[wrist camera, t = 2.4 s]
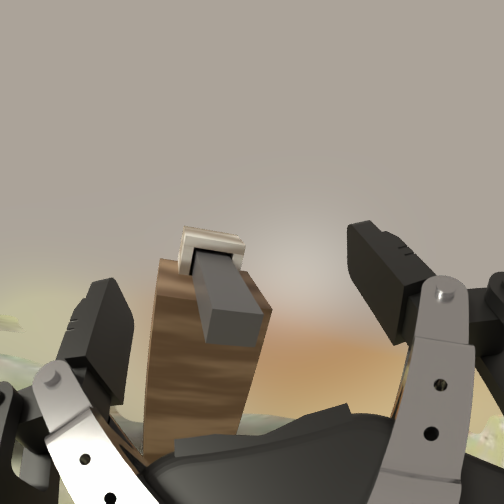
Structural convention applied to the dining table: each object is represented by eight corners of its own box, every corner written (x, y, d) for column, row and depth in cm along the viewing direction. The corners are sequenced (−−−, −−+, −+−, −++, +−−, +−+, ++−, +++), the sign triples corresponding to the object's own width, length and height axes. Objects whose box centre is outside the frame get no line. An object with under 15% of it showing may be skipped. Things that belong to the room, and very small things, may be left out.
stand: (220, 484, 41) (283, 267, 33) (143, 480, 38) (163, 248, 29) (208, 431, 53) (253, 237, 45) (143, 426, 49) (165, 222, 41)
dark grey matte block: (255, 347, 25) (263, 314, 25) (205, 343, 24) (212, 308, 24) (219, 269, 43) (224, 248, 42) (190, 265, 42) (194, 243, 41)
